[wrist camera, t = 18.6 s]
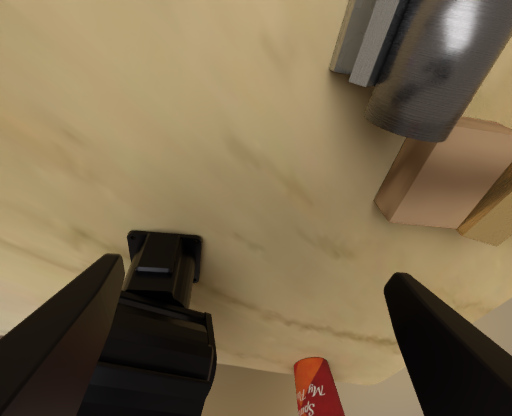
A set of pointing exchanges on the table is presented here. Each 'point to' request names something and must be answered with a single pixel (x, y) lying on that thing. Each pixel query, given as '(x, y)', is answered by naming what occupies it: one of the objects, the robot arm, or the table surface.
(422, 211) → the beam
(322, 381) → the paper cup
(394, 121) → the dark grey rounded block
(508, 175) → the block
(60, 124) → the table surface
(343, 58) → the v block
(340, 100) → the table surface
